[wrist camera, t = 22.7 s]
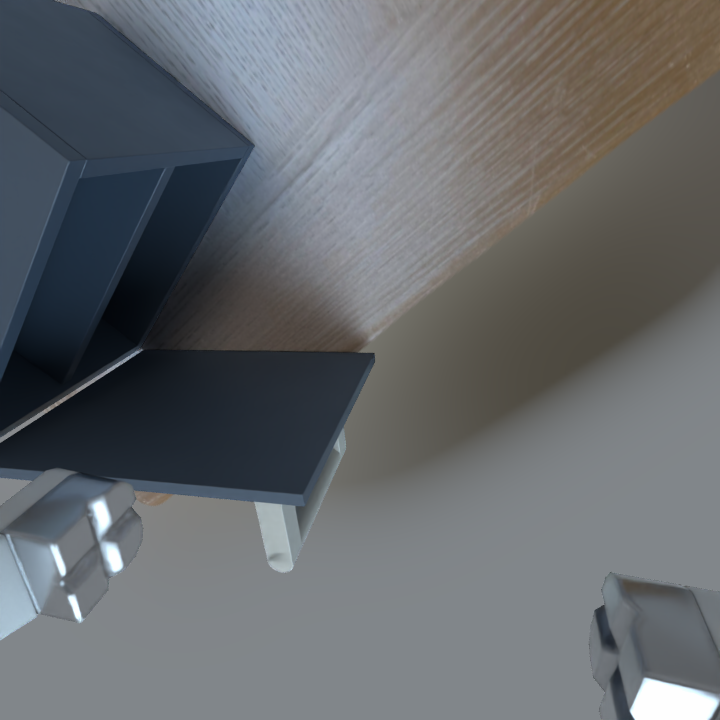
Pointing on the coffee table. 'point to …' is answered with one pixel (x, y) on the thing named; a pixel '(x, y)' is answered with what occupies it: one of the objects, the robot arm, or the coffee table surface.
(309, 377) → the cupboard door
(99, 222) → the cupboard
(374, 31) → the coffee table surface
